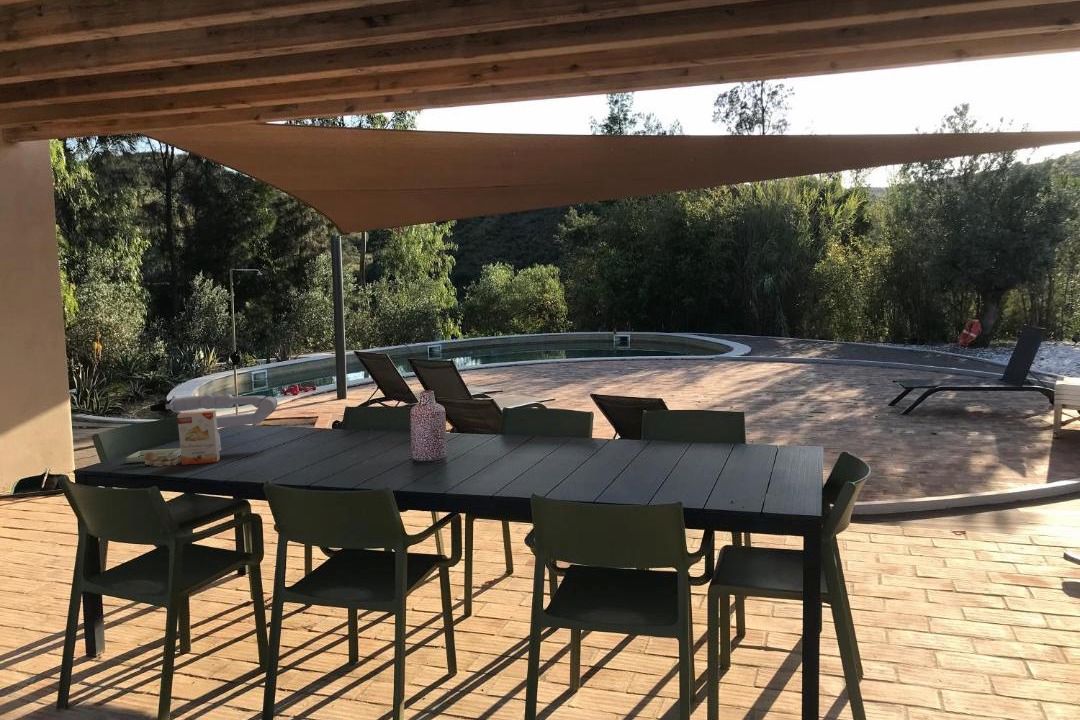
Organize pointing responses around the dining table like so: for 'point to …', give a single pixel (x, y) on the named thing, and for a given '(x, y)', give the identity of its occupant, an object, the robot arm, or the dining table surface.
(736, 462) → the dining table surface
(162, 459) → the tan joined block frame
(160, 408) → the robot arm
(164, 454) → the tray
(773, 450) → the dining table surface
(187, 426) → the cracker box
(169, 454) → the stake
